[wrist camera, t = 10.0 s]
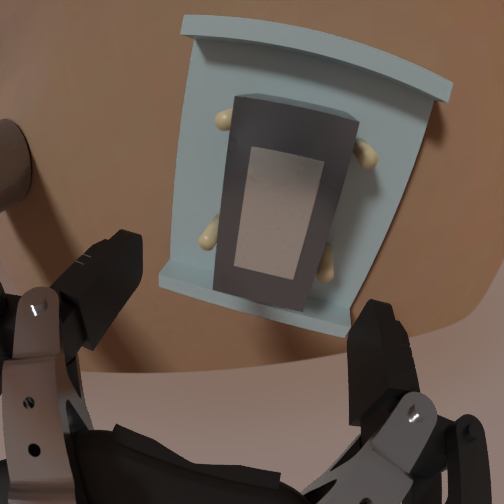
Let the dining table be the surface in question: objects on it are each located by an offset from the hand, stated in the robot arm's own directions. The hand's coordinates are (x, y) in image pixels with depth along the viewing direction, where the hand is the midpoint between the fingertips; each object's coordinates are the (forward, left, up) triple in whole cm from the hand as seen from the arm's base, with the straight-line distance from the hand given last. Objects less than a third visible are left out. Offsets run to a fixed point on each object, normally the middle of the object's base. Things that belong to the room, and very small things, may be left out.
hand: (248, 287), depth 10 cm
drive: (0, +1, -9) cm, 9 cm away
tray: (0, 0, -11) cm, 11 cm away
